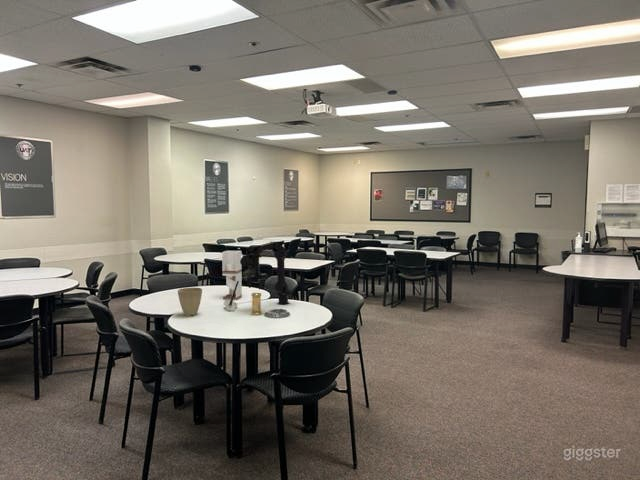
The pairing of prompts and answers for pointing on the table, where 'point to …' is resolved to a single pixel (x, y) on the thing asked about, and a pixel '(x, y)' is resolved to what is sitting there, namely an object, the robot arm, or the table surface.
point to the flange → (276, 313)
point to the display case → (232, 273)
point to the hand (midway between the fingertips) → (254, 288)
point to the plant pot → (190, 300)
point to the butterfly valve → (231, 301)
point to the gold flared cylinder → (256, 303)
